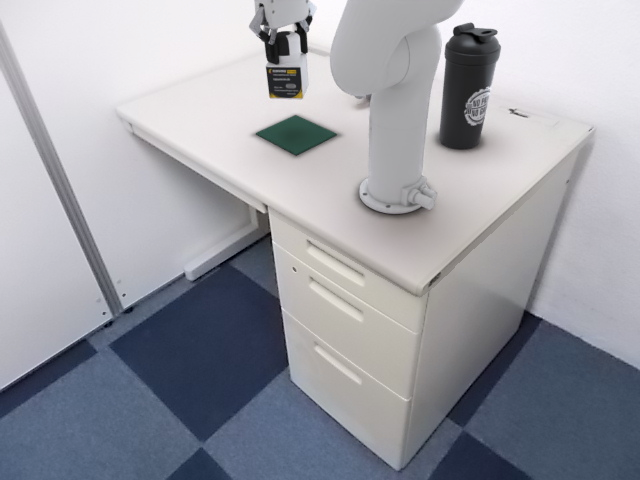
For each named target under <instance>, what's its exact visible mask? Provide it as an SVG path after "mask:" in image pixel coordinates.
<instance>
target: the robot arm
mask: <svg viewBox="0 0 640 480" xmlns="http://www.w3.org/2000/svg"><path fill="white" fill-rule="evenodd" d="M253 2H254V16H253V18H252V19H251V21H250V23H249V25H248V28H249V29H250V31H251V32H252V33H253V34H255V36H256V37H257V38H258V39H259V40H260V41H261V42H263V43H264V52H265V58H266V61H267V63H268V62H270V63H273V64H276V65H277V64H279V54H278V45H277V43H274V42H275V38H276V34H277V32H278V30H279V29H281V28H284V27H286V26H290V25H294V27H295V30H294V31H293V32H295V33H297V34H298V35H299V36H300V47H301V53H304V54H308V53H309V47H308V46H309V45H308V33H309V32H310V26H311V24H312V22H313V21H314V20H313V18H314V16H315V14H316V12H317V8H318V7H317V6H316V5H315V4H314V3H313V2H312V1H311V0H254V1H253ZM464 3H465V0H346V4H345V7H344V9H343V11H342V14H341V17H340V20H339V22H338V25H337V28H336V31H335V33H334V36H333V39H332V42H331V46H330V51H329V52H330V53H329V67H330V73H331V76H332V79H333V81H334V83H335V84H336V86H337V88H339V89H340V90H341V91H342V92H343V93H345V94H347V95H350V96H353V97H355V96H364V97H366V95H369V94H372V96H371V99H370V101H369V109H368V110H369V114H368V155H367V156H368V157H367V158H368V161H367V162H368V163H367V164H368V165H367V170H368V171H367V177H366V178H365V179H363V180H362V181H361V183H360V185H359V193H358V194H359V198H360V200H361V201H362V203H363V204H364V205H366V206H367V207H368V208H370V209H372V210H374V211H376V212H380V213H383V214H384V213H385V214H390V215H396V214H397V215H398V214H401V215H402V214H406V213H411V212H414V211H416V210H418V209H420V208H421V207H422V208H425V209H426V210H428V211H430V210H432V209H434V207H435V203H436V200H435V199H436V198H437V196H438V192H437V191H435V190H433V189H431V188H430V189H429V186H428V184H427V176H424V175H423V167H424V166H423V165H424V157H425V156H424V155H425V148H426V147H425V146H426V136H427V127H428V126H427V125H428V119H429V118H428V117H429V108H430V100H431V93H432V89H433V83H434V81H435V76H436V72H437V70H438V66H439V63H440V59H441V53H442V34H441V29H440V27H439V25H438V24H440V23H442V22H445V21H446V20H447V21H448V20H449V19H450V18H452V17H453V16H454V15H455V14H456V13H457V12H458V11H459V10H460V8H461V7H462V5H463V4H464ZM261 26H263V28H261Z"/></svg>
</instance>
